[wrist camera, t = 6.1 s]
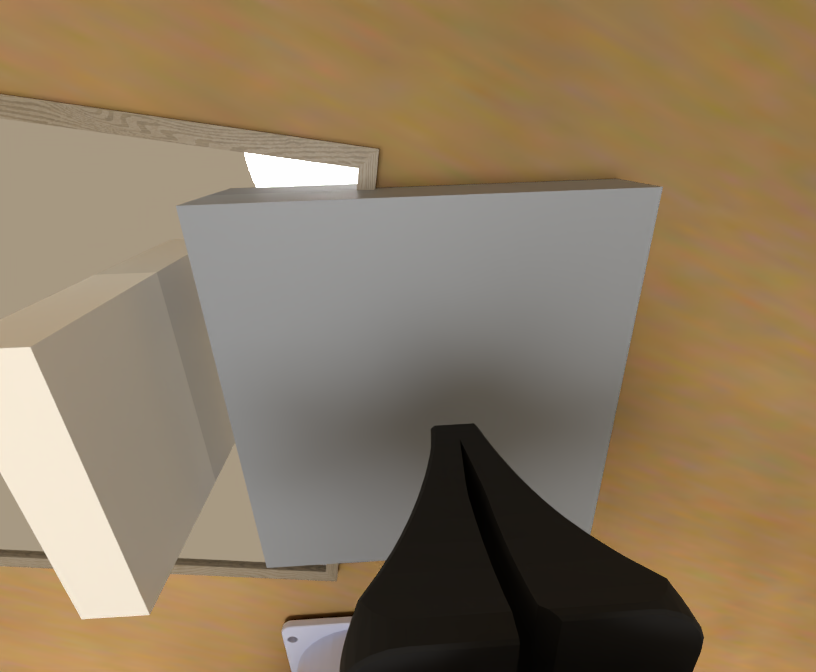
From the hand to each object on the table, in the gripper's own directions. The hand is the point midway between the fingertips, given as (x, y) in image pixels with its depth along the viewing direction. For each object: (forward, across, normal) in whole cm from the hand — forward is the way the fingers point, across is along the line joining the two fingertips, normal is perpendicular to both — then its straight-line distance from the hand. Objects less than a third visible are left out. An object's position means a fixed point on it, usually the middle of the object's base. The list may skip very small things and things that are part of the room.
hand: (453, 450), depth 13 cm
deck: (+4, +1, 0) cm, 4 cm away
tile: (+1, +9, 0) cm, 9 cm away
